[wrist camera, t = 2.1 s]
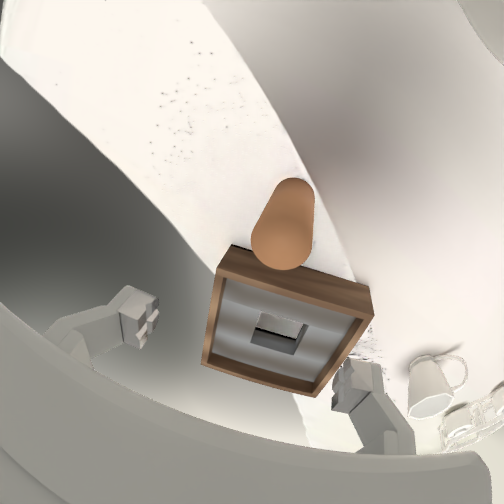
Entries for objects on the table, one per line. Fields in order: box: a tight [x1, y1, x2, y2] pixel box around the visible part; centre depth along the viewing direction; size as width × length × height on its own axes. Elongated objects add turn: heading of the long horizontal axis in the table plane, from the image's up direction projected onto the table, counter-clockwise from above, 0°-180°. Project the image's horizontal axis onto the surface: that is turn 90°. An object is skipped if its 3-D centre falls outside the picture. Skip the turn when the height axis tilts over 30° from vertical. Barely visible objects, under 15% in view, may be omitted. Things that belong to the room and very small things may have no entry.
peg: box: [251, 178, 315, 270], centre depth 22 cm, size 4×4×10 cm
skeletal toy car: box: [439, 385, 504, 453], centre depth 33 cm, size 20×11×7 cm, turn 126°
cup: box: [407, 355, 468, 420], centre depth 29 cm, size 7×10×8 cm
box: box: [201, 244, 374, 398], centre depth 32 cm, size 16×16×5 cm
